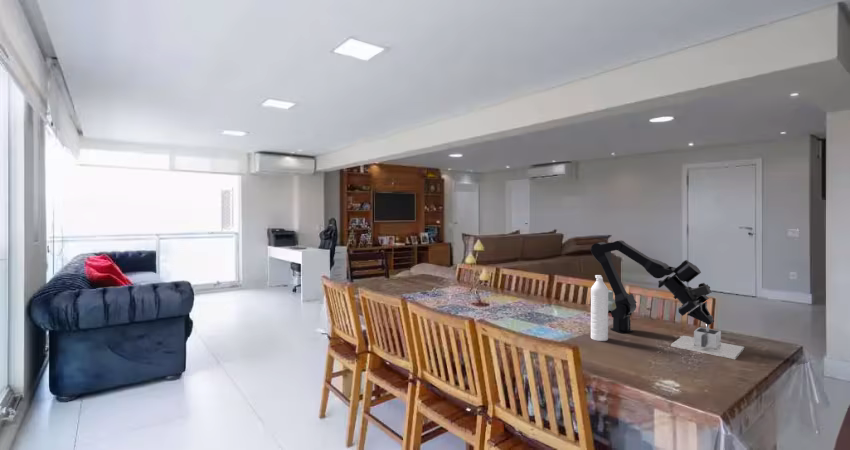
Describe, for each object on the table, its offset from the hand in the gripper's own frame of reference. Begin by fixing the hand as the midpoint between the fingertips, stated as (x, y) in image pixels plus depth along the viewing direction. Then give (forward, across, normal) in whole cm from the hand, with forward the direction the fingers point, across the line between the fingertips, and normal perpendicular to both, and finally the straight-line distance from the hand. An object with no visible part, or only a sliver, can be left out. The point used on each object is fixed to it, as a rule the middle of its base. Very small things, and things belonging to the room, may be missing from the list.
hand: (711, 323), depth 159 cm
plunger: (+5, 0, +7) cm, 8 cm away
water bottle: (-18, -16, +32) cm, 40 cm away
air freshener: (-30, +31, +44) cm, 62 cm away
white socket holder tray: (+6, 0, +8) cm, 10 cm away
